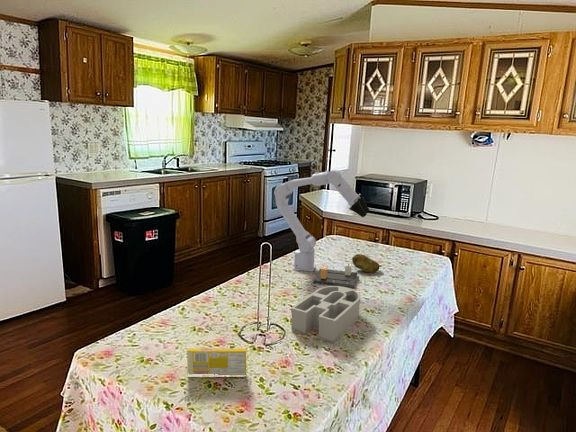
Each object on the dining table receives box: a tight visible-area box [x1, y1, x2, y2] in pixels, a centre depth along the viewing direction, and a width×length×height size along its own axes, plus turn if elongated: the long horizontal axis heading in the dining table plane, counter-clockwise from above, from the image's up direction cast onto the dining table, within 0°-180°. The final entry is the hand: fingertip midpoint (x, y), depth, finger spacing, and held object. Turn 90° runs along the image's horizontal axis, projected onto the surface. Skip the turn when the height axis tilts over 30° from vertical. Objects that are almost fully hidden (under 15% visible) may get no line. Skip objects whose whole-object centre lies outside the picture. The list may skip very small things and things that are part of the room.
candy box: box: [186, 347, 247, 376], centre depth 115 cm, size 16×2×8 cm, turn 92°
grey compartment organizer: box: [290, 285, 362, 345], centre depth 149 cm, size 17×28×9 cm, turn 148°
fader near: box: [320, 266, 328, 279], centre depth 187 cm, size 2×4×5 cm, turn 165°
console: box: [312, 268, 358, 289], centre depth 191 cm, size 18×16×2 cm
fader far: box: [344, 263, 353, 276], centre depth 192 cm, size 2×4×5 cm, turn 165°
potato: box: [351, 253, 380, 273], centre depth 202 cm, size 8×13×8 cm, turn 61°
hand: (366, 214), depth 189 cm, fingers open, 7 cm apart
